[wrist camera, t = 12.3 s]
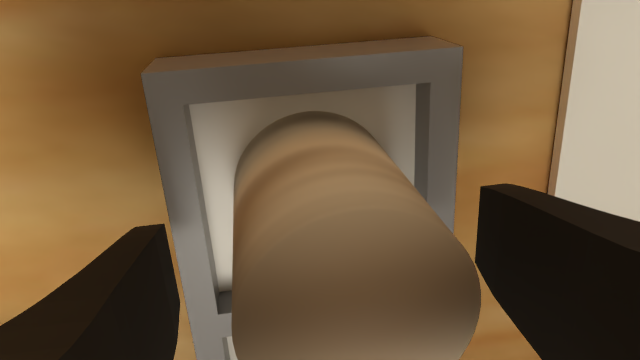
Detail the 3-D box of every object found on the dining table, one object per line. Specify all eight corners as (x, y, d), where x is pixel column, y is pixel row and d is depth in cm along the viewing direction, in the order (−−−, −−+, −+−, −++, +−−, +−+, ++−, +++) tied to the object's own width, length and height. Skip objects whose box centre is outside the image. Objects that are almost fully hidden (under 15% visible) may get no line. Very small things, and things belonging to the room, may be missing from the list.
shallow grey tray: (420, 412, 20) (441, 462, 18) (226, 445, 19) (224, 501, 17) (431, 36, 14) (463, 46, 12) (155, 58, 13) (140, 73, 11)
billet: (388, 244, 15) (472, 397, 10) (243, 263, 15) (246, 435, 9) (388, 103, 14) (490, 193, 8) (224, 118, 13) (214, 225, 8)
